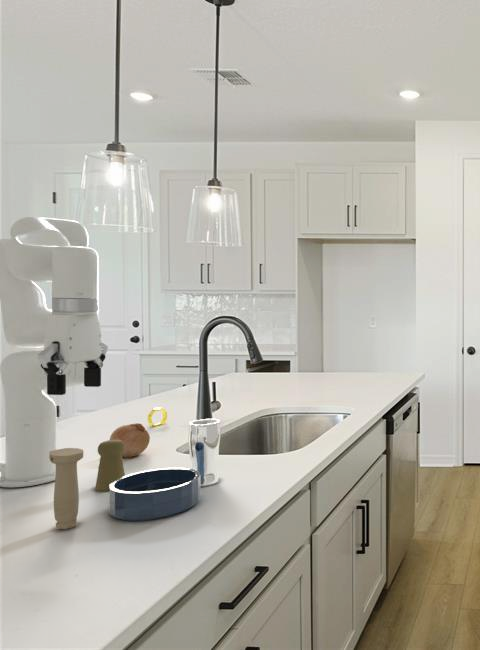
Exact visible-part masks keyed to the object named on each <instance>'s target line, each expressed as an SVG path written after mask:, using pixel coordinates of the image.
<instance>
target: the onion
mask: <svg viewBox="0 0 480 650" xmlns="http://www.w3.org/2000/svg"><path fill="white" fill-rule="evenodd" d="M109 440H120V441H122V442H123V443H124V451H123V452H122V458H125V459H126V458H133V457H136V456H139V455H141V454H142V453H144V452H145V451H146V449H147V448H148V446H149V444H150V440H151V436H150V433H149V432H148V430H147V429H146V427H144V426H143V424H142V423H140V422H139V423H137V422H136V423H131V424H124V425H121V426H119V427H117V428H115V430H114V431H112V433H111V434H110V437H109Z"/></svg>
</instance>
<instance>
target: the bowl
mask: <svg viewBox="0 0 480 650" xmlns="http://www.w3.org/2000/svg"><path fill="white" fill-rule="evenodd" d="M200 479H201V475H200V473H199V472H198V471H196V470H193V469H192V468H185V467H165V468H164V467H163V468H155V469H148V470H143V471H139V472H134V473H130V474H127V475H125V476H124V477H121V478H119V479H117V480H115V481H113V482H112V483H111V484H110V485H109V491H108V492H109V493H108V495H109V497H108V498H109V499H108V506H109V507H108V510H109V511H108V512H109V515H110V516H112V517H113V518H116V519H118V520H121V521H130V522H131V521H132V522H141V521H151V520H157V519H158V520H159V519H163V518H168V517H172V516H176V515H178V514H181V513H184V512H186V511H188V510H189V509H192V507H194V506H195V505H197V504H198V503H199V501H200V500H201V486H200Z"/></svg>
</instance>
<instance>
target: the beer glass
mask: <svg viewBox="0 0 480 650" xmlns="http://www.w3.org/2000/svg"><path fill="white" fill-rule="evenodd" d="M221 435H222V434H221V420H219V419H216V418H205V419H196V420H193V421H190V422H189V428H188V438H187V439H188V441H187V442H188V451H189V456H190V462H191V469H193V470H196V471H198V472H199V473H200V475H201V479H200V487H209V486H212V485H215V484H216V483H218V482H219V475H218V467H217V466H218V458H219V454H220V449H221V438H222V437H221Z"/></svg>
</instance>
